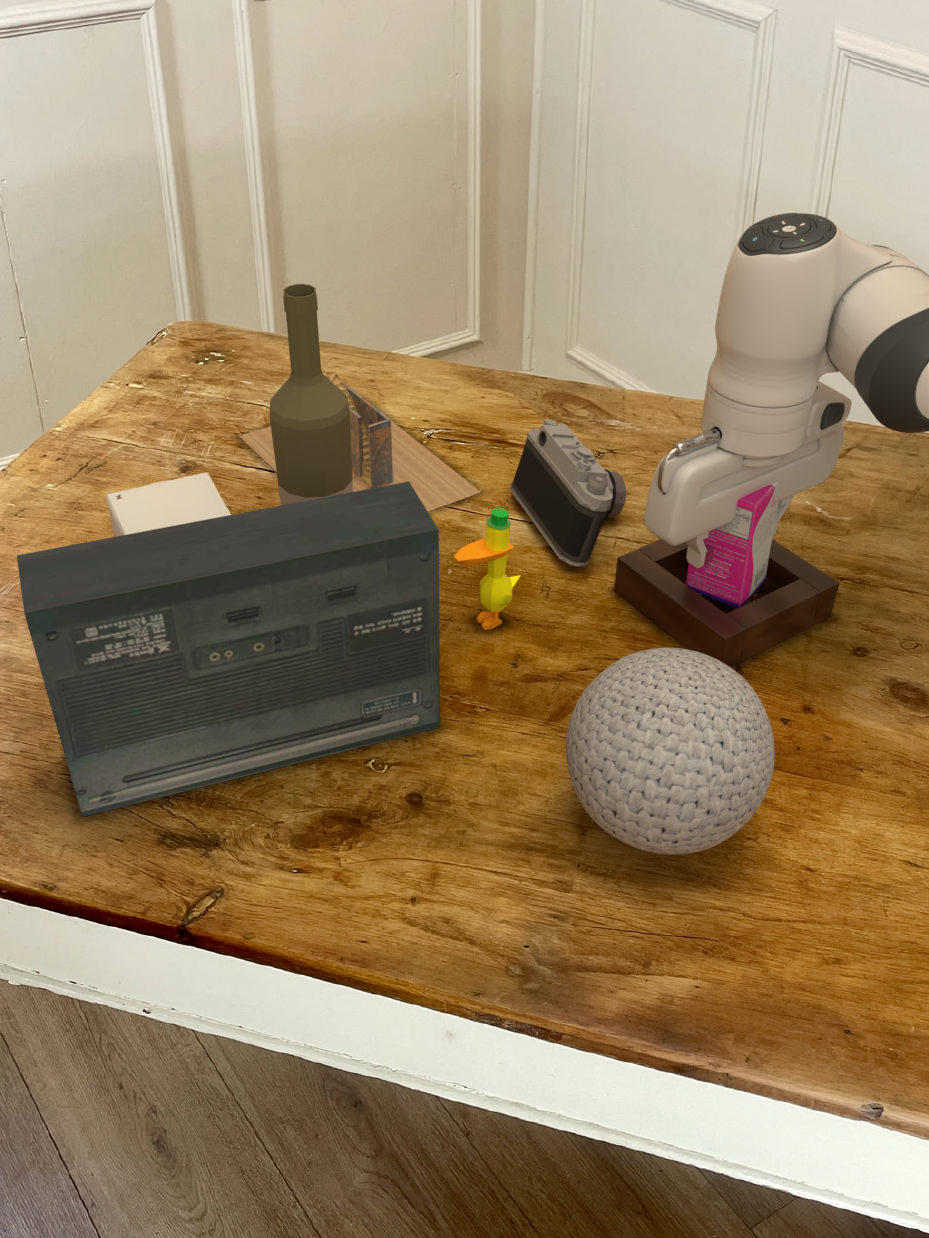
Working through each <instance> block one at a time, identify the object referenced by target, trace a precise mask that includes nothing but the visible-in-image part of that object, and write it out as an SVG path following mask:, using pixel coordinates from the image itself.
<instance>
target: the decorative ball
mask: <svg viewBox="0 0 929 1238" xmlns="http://www.w3.org/2000/svg"><path fill="white" fill-rule="evenodd" d="M775 749H776V748H775V737H774V733H773V729H772V724H771V722H770V718H769V716H768V714H767V711H766V709H765V707H764V705H763V703H762V701H761V698H760V697H759V696H758V693H756V691H755V689H754V688H753V687H752V685H751V684H750V683H749V682H748V681H747V680H746V679H745V678H744V677H743V676H742V675H741V674H739V672H737V671H736V670H735V669H733V668H732V667H729V666H727V665H726V664H724V663H722V662H721V661H719V660H717V659H715V658H713V657H711V656H708V655H705V654H703V653H699V652H696V651H692V650H688V649H687V648H681V647H679V648H678V647H655V648H649V649H645V650H640V651H636V652H633V653H631V654H628V655H626V656H623V657H621V658H619V659H617V660H616V661H615V662H613V663H612V664H610V665H609V666H607V667H606V668H605V669H604V670H602V671H601V672H600V673H598V675H597V676H596V677H595V678H594V679H593V680H592V681H591V682H590V683H589V684H588V686H587V687H586V688H585V689H584V691H583V692H582V694H581V695H580V697H579V699H578V701H577V702H576V704H575V706H574V708H573V711H572V714H571V716H570V719H569V722H568V726H567V732H566V738H565V757H566V765H567V766H566V767H567V770H568V775H569V779H570V783H571V785H572V788H573V790H574V793H575V794H576V797H577V798H578V801H579V803H580V804H581V806H582V808H583V809H584V810H585V812H586V813H587V815H588V816H589V817H590V818H591V819H592V820H593V822H595V823H596V824H597V825H598V826H599V827H600V828H601V829H602V830H603V831H605V832H606V833H607V834H609V835H610V836H611V837H613V838H615V839H616V840H618V841H620V842H622V843H624V844H625V845H628V846H629V847H632V848H634V849H638V850H640V851H644V852H649V853H651V854H657V855H669V856H670V855H671V856H672V855H673V856H675V855H688V854H693V853H694V854H695V853H699V852H702V851H703V852H704V851H706V850H708V849H712V848H714V847H716V846H718V845H720V844H722V843H723V842H725V841H726V840H728V839H729V838H731V837H732V836H733V835H735V834H736V833H737V832H739V831H740V830H741V829H742V828H744V826H745V825H746V824H747V823H748V822H749V821H750V820H751V819H752V818H753V816H754V815H755V814H756V813H757V811H758V810H759V809H760V807H761V805H762V803H763V801H764V800H765V797H766V795H767V793H768V791H769V788H770V785H771V783H772V779H773V775H774V768H775V760H776V758H775V757H776V756H775V755H776V750H775Z"/></svg>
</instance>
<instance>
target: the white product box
mask: <svg viewBox="0 0 929 1238" xmlns="http://www.w3.org/2000/svg"><path fill="white" fill-rule="evenodd" d="M105 498H106V502H107V507H108V508H107V509H108V513H109V518H110V522H111V527H112V532H113V537H117V536H122V535H127V534H133V533H138V532H143V531H149V530H154V529H159V528H165V527H170V526H175V525H180V524H186V523H191V522H196V521H202V520H207V519H212V518H218V517H223V516H228V515H232V514H231V511H230V510H229V508H228V507H227V505H226V503H225V501H224V499H223V497H222V496H221V494H220V492H219V491H218V489H217V487H216V485H215V483H214V480H213V479H212V477H211V475H210V473H209V472H202V473H197V474H193V475H188V476H183V477H179V478H175V479H169V480H161V481H156V482H153V483H152V482H151V483H149V484H146V485H143V486H138V487H133V488H129V489H124V490H120V491H115V492H110V493H107V494H105Z"/></svg>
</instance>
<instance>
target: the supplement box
mask: <svg viewBox="0 0 929 1238" xmlns="http://www.w3.org/2000/svg"><path fill="white" fill-rule="evenodd" d="M778 487H779V482H775V483H773V484H771V485H768V486H766V487H764V488H761V489H759V490H757V491H755V492H753V493H750V494H748V495H746V496H744V497H742V498H740V499H738V502H737V507H736V513H735V518H734V520H733V521H732V522H730V523H728V524H725V525H723V526H721V527H718V528H716V529H714V530H711V531H709V535H708V538H706V539H703V542H705V544H706V545H709V546H710V547H712V548H713V549H714V550H713V555H712V557H711V558H712V562H711V563H709V564H707V565H704V566H702V567H700V568H696V567H694V566H693V565H691V564H690V563H689V565H688V573H687V579H686V581H685V585H687V586H688V587H689V588H691V589H692V590H694V591H695V592H696V593H698V594H699V595H701V596H704V597H707V598H709V599H712V600H715V601H717V602H720V603H722V604H725V605H726V606H729V607H732V608H734V609H738V608H740V607H742V606H744V605H746V604H748V601H749V600H750V599H751V598H752V597H753V596H754V595H755V593H756V592H757V591H758V590H759V587H760V586H761V585H762V583H763V582H764V581H765V580H766V572H767V566H768V559H769V554H770V548H771V542H772V539H773V537H774V535H773V531H774V526H775V520H776V514H777V509H778V503H779V502H777V492H778Z"/></svg>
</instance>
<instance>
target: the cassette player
mask: <svg viewBox="0 0 929 1238" xmlns="http://www.w3.org/2000/svg"><path fill="white" fill-rule="evenodd" d="M16 561H17V568H18V576H19V585H20V591H21V599H22V606H23V613H24V614H23V615H24V617H25V620H26V621H25V622H26V624H27V628H28V631H29V634H30V638H31V642H32V646H33V649H34V653H35V656H36V660H37V663H38V666H39V670H40V674H41V677H42V680H43V681H42V682H43V684H44V687H45V690H46V695H47V698H48V701H49V705H50V709H51V712H52V715H53V719H54V722H55V726H56V729H57V732H58V737H59V740H60V744H61V747H62V750H63V754H64V758H65V762H66V764H67V768H68V772H69V775H70V779H71V783H72V786H73V790H74V792H75V797H76V800H77V804H78V806H79V807H78V808H79V810H80V814H81V817H82V818H85V817H89V816H92V815H96V814H100V813H104V812H108V811H112V810H115V809H120V808H124V807H129V806H132V805H136V804H140V803H144V802H148V801H152V800H155V799H156V800H157V799H160V798H164V797H167V796H173V795H177V794H179V793H184V792H189V791H193V790H197V789H200V788H203V787H208V786H212V785H216V784H221V783H223V782H228V781H232V780H236V779H241V778H244V777H247V776H251V775H256V774H259V773H263V772H268V771H272V770H276V769H279V768H284V767H288V766H293V765H296V764H299V763H303V762H304V763H305V762H308V761H312V760H316V759H319V758H324V757H327V756H332V755H335V754H340V753H343V752H347V751H352V750H356V749H360V748H364V747H368V746H371V745H376V744H379V743H383V742H384V743H385V742H388V741H391V740H395V739H400V738H404V737H408V736H412V735H416V734H419V733H423V732H428V731H432V730H435V729H440V728H441V694H440V693H441V677H440V675H441V674H440V673H441V670H440V669H441V667H440V666H441V663H440V662H441V661H440V655H441V654H440V650H441V649H440V646H441V645H440V644H441V643H440V529H439V528H438V526H437V525H436V523H435V521H434V519H433V518H432V516H431V514H430V512H428V511H427V510H426V508H425V506H424V505H423V503H422V502H421V500H420V498H419V497H418V495H417V493H416V492H415V490H414V489H413V487H412V485H411V484H410V482H409V481H408V482H403V483H398V484H392V485H387V486H382V487H377V488H371V489H366V490H361V491H355V492H350V493H345V494H339V495H334V496H329V497H324V498H318V499H313V500H308V501H302V502H297V503H292V504H286V505H281V504H280V505H277V506H271V507H266V508H261V509H255V510H249V511H245V512H239V513H233V514H231V515H228V516H223V517H218V518H212V519H207V520H202V521H196V522H191V523H186V524H180V525H175V526H170V527H165V528H159V529H154V530H149V531H143V532H138V533H133V534H127V535H122V536H117V537H114V536H112V537H108V538H102V539H97V540H90V541H85V542H79V543H75V544H70V545H64V546H60V547H53V548H49V549H44V550H38V551H34V552H33V551H31V552H27V553H22V554H17V555H16Z"/></svg>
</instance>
